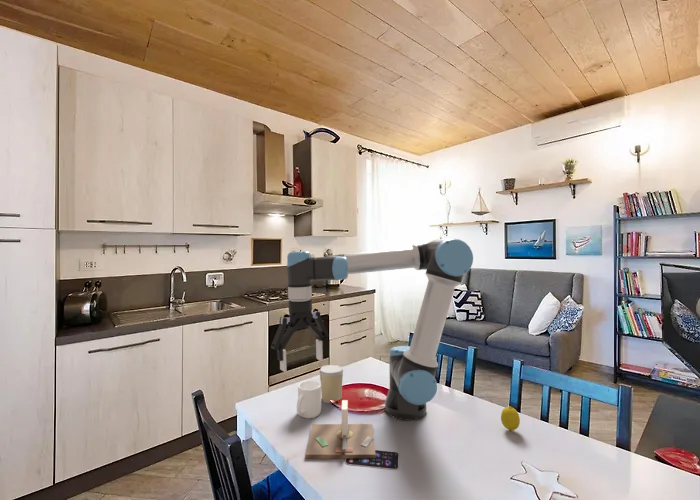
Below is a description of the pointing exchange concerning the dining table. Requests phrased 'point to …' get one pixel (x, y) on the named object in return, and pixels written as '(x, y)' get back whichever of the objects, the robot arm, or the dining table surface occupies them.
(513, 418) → the lemon
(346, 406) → the beige flat block
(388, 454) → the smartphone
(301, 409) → the mug
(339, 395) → the coffee cup
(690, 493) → the dining table surface
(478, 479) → the dining table surface
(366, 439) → the board
